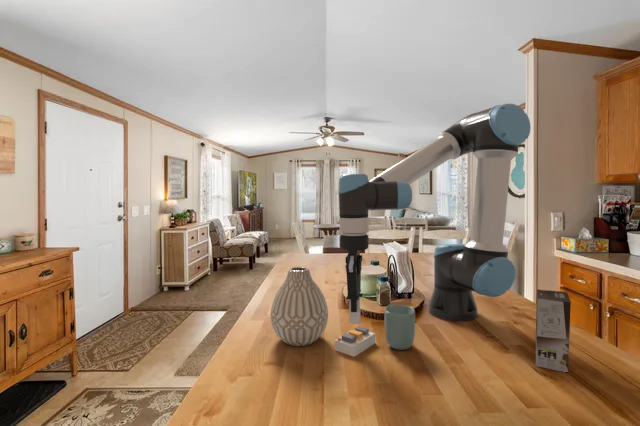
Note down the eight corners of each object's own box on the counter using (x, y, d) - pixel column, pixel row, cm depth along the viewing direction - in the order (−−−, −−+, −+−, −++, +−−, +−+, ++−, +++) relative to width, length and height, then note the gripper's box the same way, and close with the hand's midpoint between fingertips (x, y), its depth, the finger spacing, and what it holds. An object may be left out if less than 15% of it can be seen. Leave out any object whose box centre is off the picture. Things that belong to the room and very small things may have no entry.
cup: (416, 354, 87) (416, 315, 86) (384, 352, 88) (384, 313, 87) (414, 341, 94) (414, 305, 94) (384, 339, 96) (384, 303, 95)
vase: (283, 358, 86) (282, 278, 84) (263, 335, 100) (261, 266, 98) (339, 344, 93) (338, 270, 92) (312, 324, 107) (311, 260, 106)
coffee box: (569, 373, 77) (571, 302, 76) (535, 366, 80) (536, 297, 79) (566, 356, 84) (568, 291, 83) (535, 350, 88) (536, 288, 87)
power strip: (356, 338, 97) (356, 323, 97) (375, 344, 94) (375, 328, 93) (335, 351, 90) (334, 335, 89) (354, 358, 86) (354, 341, 86)
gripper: (343, 230, 97) (344, 313, 99) (334, 236, 85) (336, 331, 86) (370, 230, 95) (371, 314, 97) (365, 237, 83) (366, 333, 84)
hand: (354, 322), depth 91 cm, fingers closed
